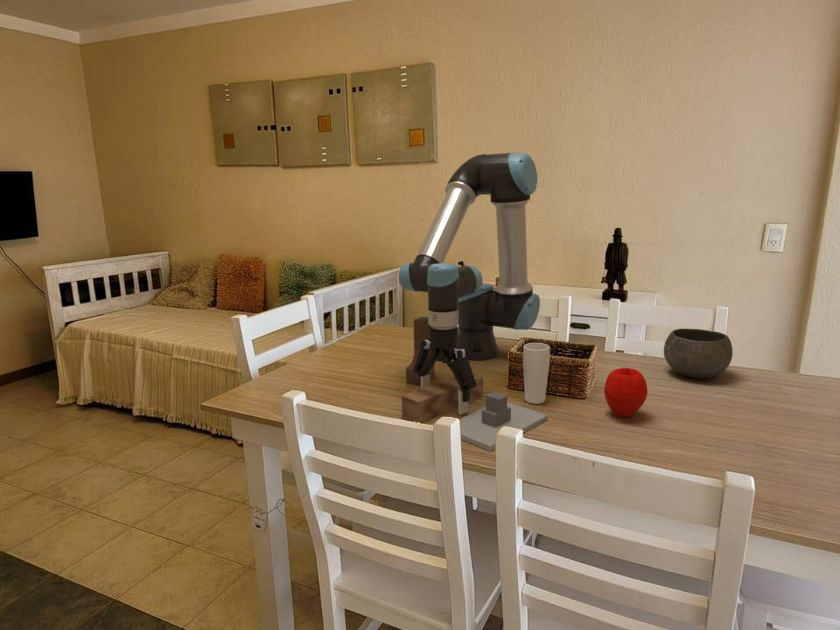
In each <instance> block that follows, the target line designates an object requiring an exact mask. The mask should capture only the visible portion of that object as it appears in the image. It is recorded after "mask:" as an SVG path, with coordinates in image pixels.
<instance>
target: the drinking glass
mask: <svg viewBox="0 0 840 630" xmlns="http://www.w3.org/2000/svg"><path fill="white" fill-rule="evenodd" d="M550 347H551V346H550V345H548V344H546V343H541V342H529V343H526V344H524V345H523V348H522V349H523V350H522V351H523V352H522V365H523V366H522V368H523V383H524V384H523V385H524V400H525V402H527V403H529V404H533V405H537V404H539V405H541V404H544V402H545V401H546V392H547V386H548V376H549V369H550V360H551V359H550V358H551V356H550V355H551V348H550Z"/></svg>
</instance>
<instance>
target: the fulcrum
mask: <svg viewBox="0 0 840 630" xmlns="http://www.w3.org/2000/svg"><path fill="white" fill-rule="evenodd" d="M548 417H549V416H548V415H547V414H545V413H541V412H538V411H535V410H533V409H529V408H527V407H523V406H520V405H516V404H514V403H511V402H508V396H507V395H505V394H501V393H498V392H496V391H493V392H490V393H488V394H485V407H483V408H481V409H479V410H476V411H474V412H472V413H469V414H468V415H466V416H463V417H461V418H459V419H460V422H461V438H462V439H461V441H464V442H467V443H469V444H471V443H472V445H474V446H476V445H477V446H476V447H478V446H479V447H478V448H481V449H483V448H484V449H483V450H485V449H486V450H485V451H488V452H492V451H494V450H495V437H496V433H497V432H498V430H499V429H500V428H501V427H503V426H510V427H513V428H518V429H522V430H523V431H524V433H523V434H525V433H527V432H528V431H530V430H532V429H534V428H535V427H537V426H539V425H541V424H543V423H544V422H546V421H548Z"/></svg>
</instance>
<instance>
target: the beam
mask: <svg viewBox="0 0 840 630" xmlns="http://www.w3.org/2000/svg"><path fill="white" fill-rule="evenodd" d="M473 375H474V378H475V381H476V384H477V386H476V387H475V388H472V389H470V400H469V401H468V404H471V403H472V402H474V401H477V400H480V399H481V398H483V397H484V376H482V375H478V374H475V373H473ZM464 385H465V383H464ZM459 389H461V387H460V386H459V384H458V382H457V380H456V378H455V376H454V375H453V376H451V377H448V378H445V379H443V380H440V381H438V382H435V383H433V384H430V385H429V386H427V387H424V388H421V387H420V388H418V389H416V390H413V391H411V392H408V393H405V394H403V395H401V417H402V418H403V419H405V418H406V419H405V420H408V421H410V422H412V421H415V422H420V423H421V424H423V423H426V422H427V421H430V420H433V419H435V418H437V417H439V416H441V415H444V414H446V413H449V412H452V411H453V409H454V410H455V409H458V390H459ZM448 411H449V412H448Z"/></svg>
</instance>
